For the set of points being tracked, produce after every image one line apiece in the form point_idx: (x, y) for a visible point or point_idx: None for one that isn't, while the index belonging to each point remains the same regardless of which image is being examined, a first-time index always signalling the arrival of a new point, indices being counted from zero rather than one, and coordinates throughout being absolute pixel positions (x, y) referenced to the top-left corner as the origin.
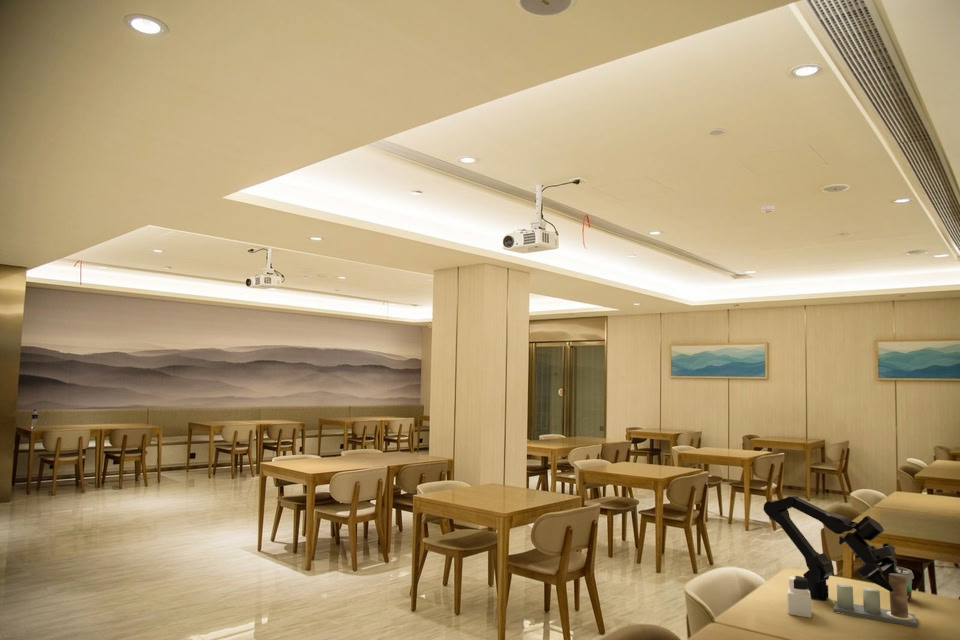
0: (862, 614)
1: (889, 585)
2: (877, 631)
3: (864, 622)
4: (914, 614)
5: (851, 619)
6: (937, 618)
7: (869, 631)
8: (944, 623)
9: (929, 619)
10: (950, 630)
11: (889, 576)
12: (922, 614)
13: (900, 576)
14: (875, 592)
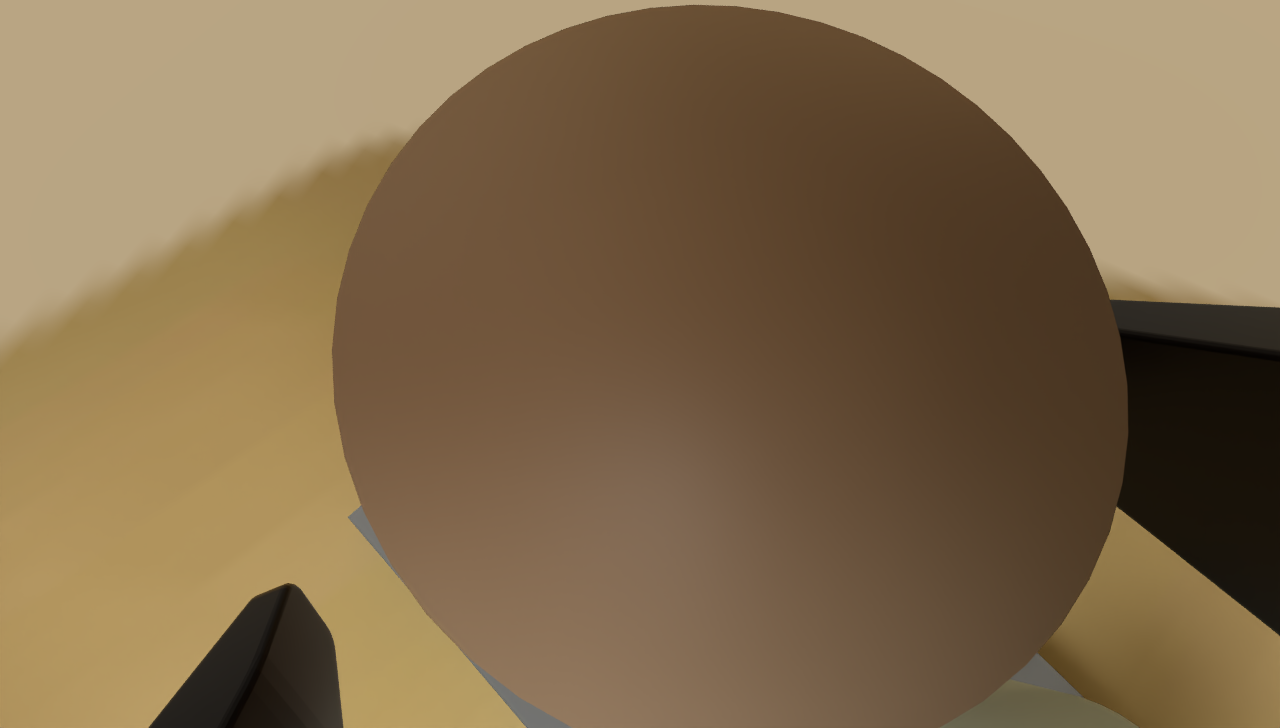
0: (1063, 681)
1: (1121, 302)
2: (1140, 285)
3: (1120, 520)
4: (362, 510)
5: (1219, 639)
6: (77, 448)
7: (1219, 302)
8: (195, 300)
9: (227, 441)
10: (366, 144)
11: (1068, 496)
12: (102, 619)
13: (721, 171)
14: (1075, 698)
